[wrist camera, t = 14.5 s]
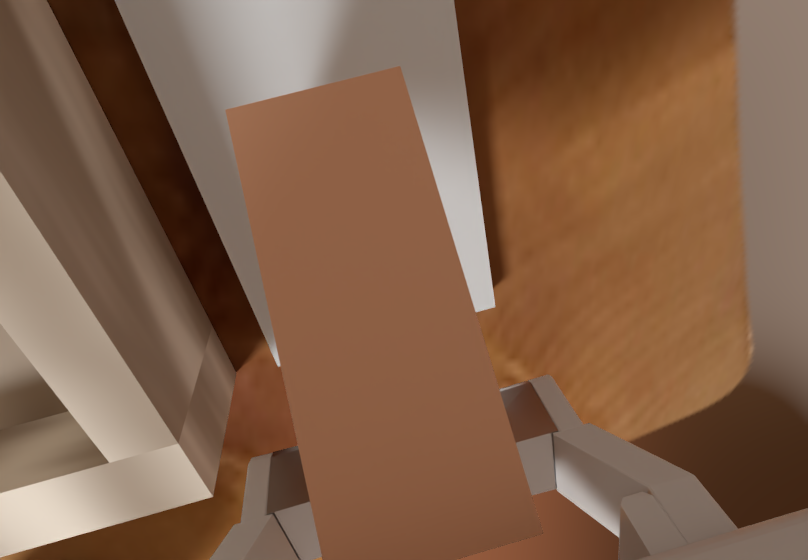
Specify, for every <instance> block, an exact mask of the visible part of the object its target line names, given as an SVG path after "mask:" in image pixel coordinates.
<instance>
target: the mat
mask: <svg viewBox="0 0 808 560" xmlns="http://www.w3.org/2000/svg"><path fill="white" fill-rule="evenodd" d="M115 3H116V5H117V7H118V9H119V12H120V14H121V16H122V18H123V21H124V23H125V25H126V27H127V30H128V32H129V34H130V36H131V38H132V41H133V43H134V45H135V47H136V50H137V52H138V54H139V56H140V59H141V61H142V63H143V65H144V68H145V70H146V72H147V74H148V77H149V79H150V81H151V83H152V86H153V88H154V90H155V92H156V94H157V97H158V99H159V101H160V103H161V106H162V108H163V110H164V112H165V115H166V117H167V119H168V121H169V124H170V126H171V128H172V130H173V133H174V135H175V137H176V139H177V141H178V144H179V146H180V148H181V150H182V153H183V155H184V157H185V159H186V162H187V164H188V166H189V168H190V171H191V173H192V175H193V177H194V180H195V182H196V184H197V186H198V189H199V191H200V193H201V195H202V197H203V200H204V202H205V204H206V206H207V209H208V211H209V213H210V215H211V218H212V220H213V222H214V224H215V227H216V229H217V231H218V233H219V236H220V238H221V240H222V242H223V245H224V247H225V249H226V251H227V253H228V256H229V258H230V260H231V262H232V265H233V267H234V269H235V271H236V274H237V276H238V278H239V280H240V283H241V285H242V287H243V289H244V292H245V294H246V296H247V298H248V301H249V303H250V305H251V307H252V309H253V312H254V314H255V316H256V318H257V321H258V323H259V325H260V327H261V330H262V332H263V334H264V336H265V339H266V341H267V343H268V345H269V348H270V350H271V352H272V354H273V356H274V359H275V361H276V363H277V365H278V366H281V365H280V360H279V356H278V351H277V347H276V342H275V337H274V333H273V328H272V324H271V319H270V314H269V310H268V305H267V300H266V296H265V291H264V287H263V282H262V277H261V273H260V268H259V263H258V259H257V254H256V250H255V245H254V240H253V236H252V231H251V227H250V222H249V217H248V213H247V208H246V203H245V199H244V194H243V190H242V185H241V180H240V176H239V171H238V167H237V162H236V157H235V153H234V148H233V143H232V139H231V134H230V130H229V125H228V120H227V116H226V111H225V110H226V109H230V108H234V107H238V106H242V105H246V104H250V103H254V102H258V101H262V100H266V99H270V98H274V97H278V96H282V95H286V94H290V93H294V92H298V91H302V90H306V89H310V88H314V87H318V86H322V85H326V84H330V83H334V82H338V81H342V80H346V79H350V78H354V77H358V76H362V75H366V74H370V73H374V72H378V71H382V70H386V69H390V68H394V67H398V66H400V67H401V70H402V73H403V77H404V80H405V83H406V86H407V90H408V93H409V96H410V99H411V103H412V106H413V109H414V113H415V116H416V119H417V122H418V126H419V129H420V132H421V135H422V139H423V142H424V145H425V148H426V152H427V155H428V158H429V161H430V165H431V168H432V171H433V175H434V178H435V181H436V184H437V188H438V191H439V194H440V197H441V201H442V204H443V207H444V210H445V214H446V217H447V220H448V224H449V227H450V230H451V233H452V237H453V240H454V243H455V246H456V250H457V253H458V256H459V259H460V263H461V266H462V269H463V272H464V276H465V279H466V282H467V286H468V289H469V292H470V295H471V299H472V302H473V305H474V308H475V312H479V311H482V310H486V309H489V308H493V307H495V301H494V293H493V286H492V278H491V271H490V264H489V256H488V249H487V241H486V234H485V227H484V219H483V212H482V204H481V197H480V190H479V182H478V175H477V167H476V160H475V153H474V145H473V138H472V130H471V123H470V116H469V108H468V101H467V93H466V86H465V79H464V71H463V64H462V56H461V49H460V42H459V34H458V27H457V19H456V12H455V5H454V0H115Z"/></svg>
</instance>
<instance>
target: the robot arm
mask: <svg viewBox="0 0 808 560" xmlns="http://www.w3.org/2000/svg"><path fill="white" fill-rule="evenodd" d="M499 390H500V393H501V397H502V400H503V403H504V406H505V410H506V413H507V416H508V419H509V423H510V426H511V429H512V432H513V436H514V439H515V442H516V445H517V449H518V452H519V455H520V459H521V462H522V465H523V468H524V472H525V475H526V478H527V481H528V485H529V488H530V491H531V494H532V495H535V494H539V493H542V492H546V491H550V490H554V489H557V491H558V492H560V493H561V494H562V495H564V496H565V497H566V498H568V499H569V500H570V501H571V502H573V503H574V504H575V505H577V506H578V507H579V508H581V509H582V510H583V511H585V512H586V513H587V514H589V515H590V516H591V517H593V518H594V519H595V520H597V521H598V522H599V523H601V524H602V525H603V526H605V527H606V528H607V529H609V530H610V531H611V532H613V533H614V534H615V535H617V536H618V537H619V559H618V560H808V508H807V509H803V510H801V511H797V512H794V513H790V514H787V515H783V516H780V517H777V518H773V519H770V520H767V521H764V522H760V523H757V524H754V525H750V526H747V527H743V528H740V529H738V528H737V527H736V526H735V525H734V523H733V522H732V521H731V520H730V519H729V517H728V516H727V515H726V514H725V512H724V511H723V510H722V509H721V508H720V506H719V505H718V504H717V503H716V501H715V500H714V499H713V498H712V497H711V495H710V494H709V493H708V492H707V490H706V489H705V488H704V487H703V485H702V484H701V483H700V482H699V481H698V479H697V478H696V477H695V476H694V475H693V474H691V473H689V472H687V471H685V470H683V469H681V468H679V467H677V466H675V465H673V464H670V463H669V462H667V461H665V460H663V459H661V458H659V457H657V456H655V455H653V454H651V453H649V452H647V451H645V450H643V449H640V448H639V447H637V446H635V445H633V444H631V443H629V442H627V441H625V440H623V439H621V438H619V437H617V436H615V435H613V434H611V433H609V432H607V431H605V430H603V429H601V428H599V427H597V426H595V425H593V424H591V423H588V424H584V425H583V423H582V422H581V420H580V419H579V417H578V416H577V414H576V413H575V411H574V410H573V408H572V407H571V405H570V404H569V402H568V401H567V399H566V397H565V396H564V394H563V393H562V391H561V390H560V388H559V387H558V385H557V384H556V382H555V381H554V379H553V378H552V377H551V376H550V375H545V376H542V377H539V378H535V379H532V380H528V381H525V382H521V383H518V384H514V385H511V386H508V387H504V388H501V389H499ZM319 557H322V554H321V550H320V545H319V541H318V536H317V531H316V527H315V522H314V517H313V513H312V508H311V504H310V499H309V494H308V490H307V485H306V480H305V476H304V471H303V467H302V462H301V457H300V453H299V448H298V446H295V447H291V448H287V449H283V450H279V451H275V452H273V453H269V454H265V455H261V456H257V457H253V458H251V460H250V462H249V464H248V470H247V478H246V486H245V493H244V501H243V509H242V516H241V523H238V524H235V525H234V526H233V527H232V528H231V530H230V531H229V533H228V534H227V535H226V537H225V538H224V540H223V541H222V543H221V544H220V545H219V547H218V548H217V550H216V551H215V552H214V554H213V555H212V557H211V558H210V559H209V560H313V559H316V558H319Z"/></svg>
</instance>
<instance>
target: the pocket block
mask: <svg viewBox="0 0 808 560" xmlns="http://www.w3.org/2000/svg"><path fill="white" fill-rule="evenodd" d="M235 378H236V371H235V369H234V367H233V365H232V364H231V362H230V360H229V358H228V356H227V354H226V352H225V350H224V348H223V346H222V344H221V342H220V340H219V338H218V336H217V334H216V332H215V330H214V328H213V326H212V324H211V322H210V320H209V318H208V316H207V314H206V312H205V310H204V308H203V306H202V305H201V303H200V301H199V299H198V297H197V295H196V293H195V291H194V289H193V287H192V285H191V283H190V281H189V279H188V277H187V275H186V273H185V271H184V269H183V267H182V265H181V263H180V261H179V259H178V257H177V255H176V253H175V251H174V249H173V247H172V246H171V244H170V242H169V240H168V238H167V236H166V234H165V232H164V230H163V228H162V226H161V224H160V222H159V220H158V218H157V216H156V214H155V212H154V210H153V208H152V206H151V204H150V202H149V200H148V198H147V196H146V194H145V192H144V190H143V189H142V187H141V185H140V183H139V181H138V179H137V177H136V175H135V173H134V171H133V169H132V167H131V165H130V163H129V161H128V159H127V157H126V155H125V153H124V151H123V149H122V147H121V145H120V143H119V141H118V139H117V137H116V135H115V133H114V131H113V130H112V128H111V126H110V124H109V122H108V120H107V118H106V116H105V114H104V112H103V110H102V108H101V106H100V104H99V102H98V100H97V98H96V96H95V94H94V92H93V90H92V88H91V86H90V84H89V82H88V80H87V78H86V76H85V74H84V72H83V71H82V69H81V67H80V65H79V63H78V61H77V59H76V57H75V55H74V53H73V51H72V49H71V47H70V45H69V43H68V41H67V39H66V37H65V35H64V33H63V31H62V29H61V27H60V25H59V23H58V21H57V19H56V17H55V15H54V14H53V12H52V10H51V8H50V6H49V4H48V2H47V0H0V557H3V556H7V555H10V554H14V553H17V552H21V551H24V550H28V549H31V548H35V547H39V546H42V545H46V544H49V543H53V542H56V541H60V540H63V539H67V538H70V537H74V536H77V535H81V534H84V533H88V532H91V531H95V530H98V529H102V528H105V527H109V526H112V525H116V524H119V523H123V522H126V521H130V520H133V519H137V518H141V517H144V516H148V515H151V514H155V513H158V512H162V511H165V510H169V509H172V508H176V507H179V506H183V505H186V504H190V503H193V502H197V501H200V500H204V499H207V498H211V497H213V495H214V489H215V484H216V479H217V473H218V468H219V463H220V458H221V452H222V447H223V442H224V436H225V431H226V426H227V420H228V415H229V410H230V404H231V399H232V394H233V389H234V383H235Z"/></svg>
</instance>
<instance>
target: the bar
mask: <svg viewBox="0 0 808 560" xmlns="http://www.w3.org/2000/svg"><path fill="white" fill-rule="evenodd" d="M225 111H226V116H227V120H228V125H229V130H230V134H231V139H232V143H233V148H234V153H235V157H236V162H237V167H238V171H239V176H240V180H241V185H242V190H243V194H244V199H245V203H246V208H247V213H248V217H249V222H250V227H251V231H252V236H253V240H254V245H255V250H256V254H257V259H258V263H259V268H260V273H261V277H262V282H263V287H264V291H265V296H266V300H267V305H268V310H269V314H270V319H271V324H272V328H273V333H274V337H275V342H276V347H277V351H278V356H279V360H280V365H281V370H282V374H283V379H284V384H285V388H286V393H287V397H288V402H289V407H290V411H291V416H292V420H293V425H294V430H295V434H296V439H297V444H298V448H299V453H300V457H301V462H302V467H303V471H304V476H305V480H306V485H307V490H308V494H309V499H310V504H311V508H312V513H313V517H314V522H315V527H316V531H317V536H318V541H319V545H320V550H321V554H322V559H323V560H456V559H460V558H463V557H467V556H470V555H473V554H477V553H480V552H484V551H487V550H490V549H493V548H497V547H500V546H504V545H507V544H510V543H514V542H517V541H521V540H524V539H527V538H531V537H534V536H537V535H541V534H543V530H542V527H541V524H540V521H539V517H538V514H537V511H536V508H535V504H534V501H533V498H532V494H531V491H530V488H529V485H528V481H527V478H526V475H525V472H524V468H523V465H522V462H521V459H520V455H519V452H518V449H517V445H516V442H515V439H514V436H513V432H512V429H511V426H510V423H509V419H508V416H507V413H506V410H505V406H504V403H503V400H502V397H501V393H500V390H499V387H498V383H497V380H496V377H495V374H494V370H493V367H492V364H491V361H490V357H489V354H488V351H487V348H486V344H485V341H484V338H483V335H482V331H481V328H480V325H479V321H478V318H477V315H476V312H475V308H474V305H473V302H472V299H471V295H470V292H469V289H468V286H467V282H466V279H465V276H464V272H463V269H462V266H461V263H460V259H459V256H458V253H457V250H456V246H455V243H454V240H453V237H452V233H451V230H450V227H449V224H448V220H447V217H446V214H445V210H444V207H443V204H442V201H441V197H440V194H439V191H438V188H437V184H436V181H435V178H434V175H433V171H432V168H431V165H430V161H429V158H428V155H427V152H426V148H425V145H424V142H423V139H422V135H421V132H420V129H419V126H418V122H417V119H416V116H415V113H414V109H413V106H412V103H411V99H410V96H409V93H408V90H407V86H406V83H405V80H404V77H403V73H402V70H401V67H400V66H398V67H394V68H390V69H386V70H382V71H378V72H374V73H370V74H366V75H362V76H358V77H354V78H350V79H346V80H342V81H338V82H334V83H330V84H326V85H322V86H318V87H314V88H310V89H306V90H302V91H298V92H294V93H290V94H286V95H282V96H278V97H274V98H270V99H266V100H262V101H258V102H254V103H250V104H246V105H242V106H238V107H234V108H230V109H226V110H225Z"/></svg>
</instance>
